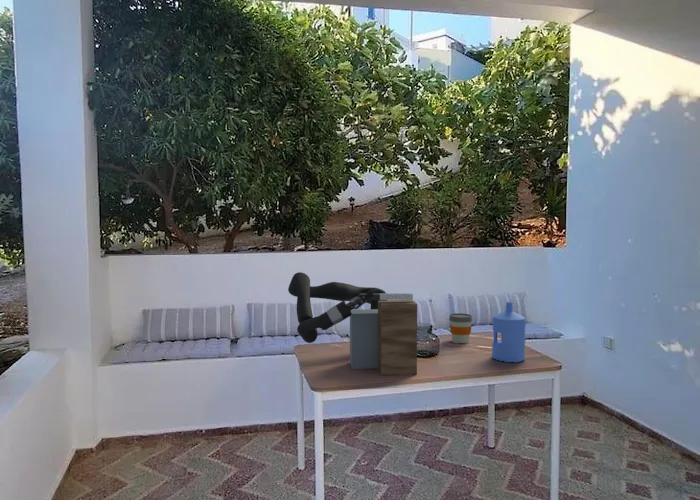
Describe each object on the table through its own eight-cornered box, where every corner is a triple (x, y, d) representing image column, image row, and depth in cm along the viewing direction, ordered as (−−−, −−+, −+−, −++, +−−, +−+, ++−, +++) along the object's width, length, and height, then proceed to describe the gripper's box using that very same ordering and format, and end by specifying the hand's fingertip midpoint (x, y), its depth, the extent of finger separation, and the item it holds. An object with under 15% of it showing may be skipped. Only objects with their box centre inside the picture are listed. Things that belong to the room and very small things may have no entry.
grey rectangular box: (349, 362, 254) (349, 309, 252) (390, 361, 256) (390, 308, 254) (352, 369, 244) (351, 313, 242) (394, 367, 246) (394, 312, 244)
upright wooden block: (377, 368, 245) (377, 300, 242) (411, 367, 246) (411, 299, 244) (381, 375, 234) (381, 304, 231) (416, 374, 235) (417, 304, 233)
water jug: (526, 356, 264) (527, 301, 263) (522, 364, 250) (523, 306, 248) (494, 353, 271) (495, 299, 269) (489, 360, 257) (490, 304, 255)
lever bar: (359, 298, 237) (359, 293, 237) (411, 298, 240) (411, 293, 240) (359, 299, 234) (360, 294, 234) (412, 299, 237) (412, 294, 237)
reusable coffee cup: (451, 344, 289) (452, 317, 288) (446, 339, 301) (447, 313, 300) (474, 344, 289) (474, 317, 288) (468, 338, 302) (468, 313, 300)
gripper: (342, 316, 243) (373, 297, 244) (344, 323, 229) (378, 302, 230) (333, 303, 242) (365, 283, 243) (336, 308, 228) (370, 288, 229)
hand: (371, 293), depth 236 cm, fingers closed on lever bar, 3 cm apart
